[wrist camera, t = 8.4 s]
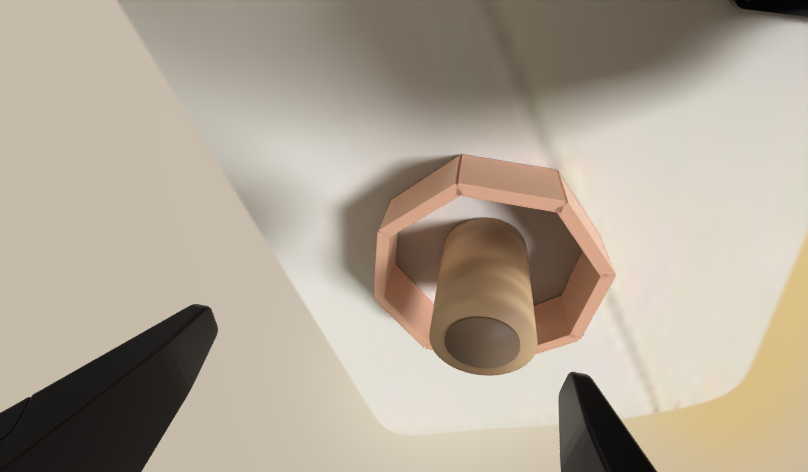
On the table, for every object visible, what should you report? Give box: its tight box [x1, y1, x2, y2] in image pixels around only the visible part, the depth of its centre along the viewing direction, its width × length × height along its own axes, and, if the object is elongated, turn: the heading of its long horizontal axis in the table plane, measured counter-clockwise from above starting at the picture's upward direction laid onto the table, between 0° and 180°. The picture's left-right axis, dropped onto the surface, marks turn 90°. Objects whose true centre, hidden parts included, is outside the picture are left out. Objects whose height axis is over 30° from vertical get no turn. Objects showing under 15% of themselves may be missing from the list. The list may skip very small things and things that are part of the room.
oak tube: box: [429, 218, 538, 375], centre depth 19 cm, size 5×5×7 cm
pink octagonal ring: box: [373, 154, 616, 354], centre depth 21 cm, size 11×11×3 cm
